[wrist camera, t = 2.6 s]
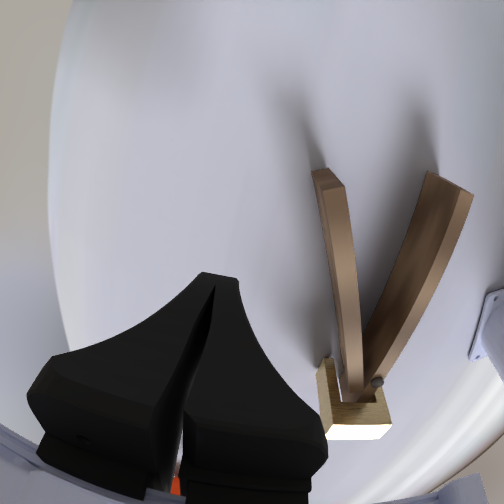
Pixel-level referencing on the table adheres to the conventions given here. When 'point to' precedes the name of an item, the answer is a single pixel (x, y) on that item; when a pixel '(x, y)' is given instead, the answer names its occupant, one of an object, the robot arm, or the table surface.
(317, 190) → the tong arm
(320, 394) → the light wood block
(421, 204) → the bar
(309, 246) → the table surface
